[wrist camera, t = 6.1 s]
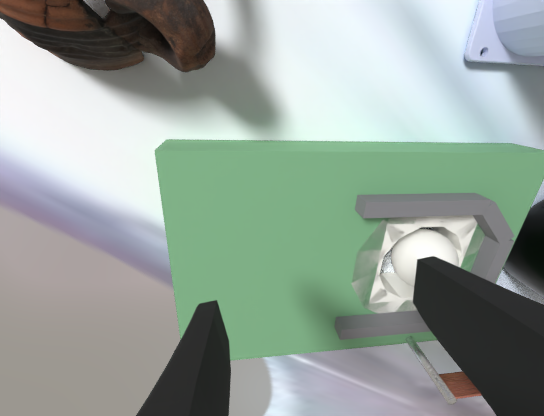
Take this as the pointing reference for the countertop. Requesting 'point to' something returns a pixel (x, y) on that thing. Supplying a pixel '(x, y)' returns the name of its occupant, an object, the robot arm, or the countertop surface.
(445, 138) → the countertop surface
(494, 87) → the countertop surface
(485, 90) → the countertop surface
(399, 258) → the ball
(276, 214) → the mat
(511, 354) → the robot arm
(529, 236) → the ink bottle
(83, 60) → the pottery mug
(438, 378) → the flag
